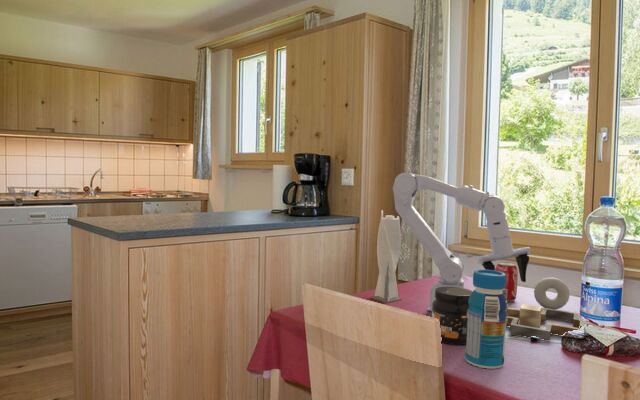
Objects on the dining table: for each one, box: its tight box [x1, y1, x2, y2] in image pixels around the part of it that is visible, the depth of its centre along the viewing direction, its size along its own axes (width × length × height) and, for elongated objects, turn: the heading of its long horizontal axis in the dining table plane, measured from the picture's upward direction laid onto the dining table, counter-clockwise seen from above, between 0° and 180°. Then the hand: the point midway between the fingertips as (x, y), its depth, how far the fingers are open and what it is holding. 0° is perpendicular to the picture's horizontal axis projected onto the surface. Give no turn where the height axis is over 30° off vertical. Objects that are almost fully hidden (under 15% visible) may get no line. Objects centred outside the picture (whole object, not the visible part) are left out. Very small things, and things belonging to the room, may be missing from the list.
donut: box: [533, 276, 570, 310], centre depth 154 cm, size 10×4×10 cm, turn 71°
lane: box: [506, 307, 586, 341], centre depth 137 cm, size 22×23×4 cm
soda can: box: [495, 261, 519, 303], centre depth 164 cm, size 7×7×12 cm
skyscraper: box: [370, 209, 403, 304], centre depth 160 cm, size 8×8×28 cm
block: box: [518, 303, 543, 328], centre depth 138 cm, size 5×5×5 cm
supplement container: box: [431, 286, 474, 346], centre depth 124 cm, size 10×10×12 cm
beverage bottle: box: [464, 269, 509, 370], centre depth 109 cm, size 8×8×20 cm
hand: (510, 284), depth 143 cm, fingers open, 7 cm apart
